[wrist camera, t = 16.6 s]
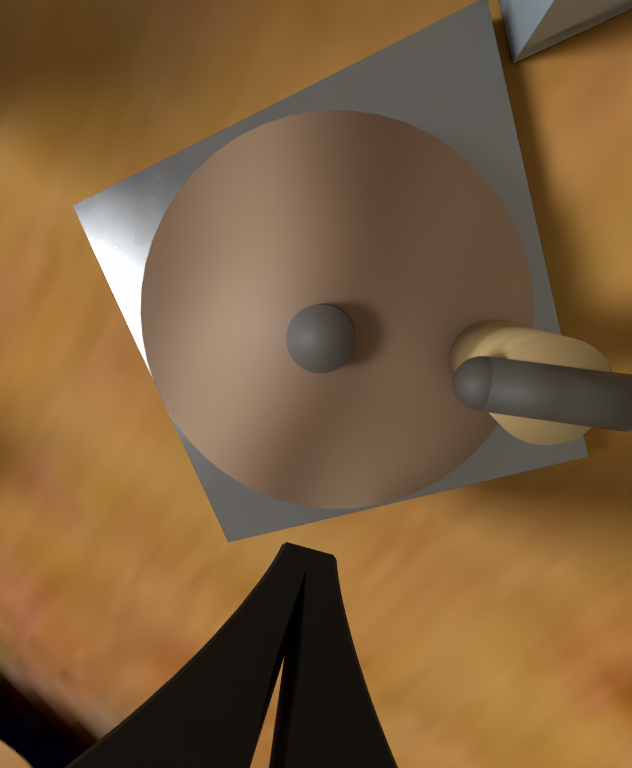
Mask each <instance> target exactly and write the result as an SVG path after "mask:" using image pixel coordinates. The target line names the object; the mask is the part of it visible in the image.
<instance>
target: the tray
mask: <svg viewBox="0 0 632 768" xmlns="http://www.w3.org/2000/svg"><path fill="white" fill-rule="evenodd" d="M499 2H500V7H501V11H502V16H503V21H504V25H505V30H506V35H507V39H508V44H509V49H510V53H511V58H512V62H513V63H515V62H518V61H520V60H522V59H524V58H526V57H528V56H531V55H533V54H535V53H537V52H539V51H541V50H544V49H546V48H548V47H550V46H552V45H554V44H557V43H559V42H561V41H563V40H565V39H567V38H570V37H572V36H574V35H576V34H578V33H580V32H583V31H585V30H587V29H589V28H591V27H593V26H596V25H598V24H600V23H602V22H604V21H606V20H609V19H611V18H613V17H615V16H617V15H619V14H622V13H624V12H626V11H628V10H630V9H632V0H499Z"/></svg>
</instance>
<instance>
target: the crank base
mask: <svg viewBox="0 0 632 768" xmlns="http://www.w3.org/2000/svg"><path fill="white" fill-rule="evenodd" d="M320 110H352V111H359V112H366V113H373V114H379V115H382V116H386V117H389V118H392V119H396V120H399V121H402V122H406V123H408V124H410V125H412V126H415V127H417V128H419V129H421V130H423V131H425V132H427V133H429V134H431V135H433V136H435V137H437V138H438V139H439V140H441V141H442V142H444V143H445V144H447V145H448V146H450V147H451V148H453V149H454V150H456V151H457V152H458V153H460V154H461V155H462V156H463V157H464V158H465V159H466V160H467V161H468V162H469V163H470V164H471V165H473V166H474V167H475V168H476V169H477V170H478V171H479V172H480V173H481V174H482V175H483V176H484V178H485V179H486V180H487V182H488V183H489V184H490V185H491V187H492V188H493V189H494V190H495V192H496V193H497V194H498V196H499V197H500V198H501V200H502V202H503V204H504V205H505V207H506V209H507V211H508V212H509V214H510V216H511V218H512V219H513V221H514V223H515V226H516V228H517V231H518V233H519V236H520V238H521V241H522V244H523V246H524V249H525V252H526V256H527V261H528V265H529V269H530V274H531V278H532V289H533V300H534V317H533V328H534V329H538V330H542V331H546V332H550V333H554V334H558V335H561V331H560V327H559V322H558V317H557V313H556V308H555V304H554V299H553V295H552V290H551V286H550V281H549V277H548V272H547V268H546V263H545V259H544V254H543V250H542V245H541V241H540V236H539V232H538V227H537V223H536V218H535V214H534V209H533V205H532V200H531V196H530V191H529V186H528V182H527V177H526V173H525V168H524V164H523V159H522V155H521V150H520V146H519V141H518V137H517V132H516V128H515V123H514V119H513V114H512V110H511V105H510V101H509V96H508V92H507V87H506V83H505V78H504V74H503V69H502V65H501V60H500V55H499V51H498V46H497V42H496V37H495V33H494V28H493V24H492V19H491V15H490V10H489V6H488V1H487V0H479V1H477V2H475V3H473V4H472V5H470V6H468V7H466V8H464V9H462V10H460V11H458V12H456V13H454V14H452V15H450V16H448V17H446V18H444V19H442V20H440V21H438V22H436V23H434V24H432V25H430V26H428V27H426V28H424V29H422V30H420V31H418V32H416V33H414V34H412V35H410V36H408V37H406V38H404V39H402V40H400V41H398V42H396V43H394V44H392V45H390V46H388V47H386V48H384V49H382V50H380V51H378V52H376V53H375V54H373V55H371V56H369V57H367V58H365V59H363V60H361V61H359V62H357V63H355V64H353V65H351V66H349V67H347V68H345V69H343V70H341V71H339V72H337V73H335V74H333V75H331V76H329V77H327V78H325V79H323V80H321V81H319V82H317V83H315V84H313V85H311V86H309V87H307V88H305V89H303V90H301V91H299V92H297V93H295V94H293V95H291V96H289V97H287V98H285V99H283V100H281V101H280V102H278V103H276V104H274V105H272V106H270V107H268V108H266V109H264V110H262V111H260V112H258V113H256V114H254V115H252V116H250V117H248V118H246V119H244V120H242V121H240V122H238V123H236V124H234V125H232V126H230V127H228V128H226V129H224V130H222V131H220V132H218V133H216V134H214V135H212V136H210V137H208V138H206V139H204V140H202V141H200V142H198V143H196V144H194V145H192V146H190V147H188V148H186V149H185V150H183V151H181V152H179V153H177V154H175V155H173V156H171V157H169V158H167V159H165V160H163V161H161V162H159V163H157V164H155V165H153V166H151V167H149V168H147V169H145V170H143V171H141V172H139V173H137V174H135V175H133V176H131V177H129V178H127V179H125V180H123V181H121V182H119V183H117V184H115V185H113V186H111V187H109V188H107V189H105V190H103V191H101V192H99V193H97V194H95V195H93V196H91V197H90V198H88V199H86V200H84V201H82V202H80V203H78V204H76V205H74V206H73V207H74V209H75V211H76V213H77V216H78V218H79V220H80V222H81V224H82V226H83V229H84V231H85V233H86V235H87V237H88V239H89V242H90V244H91V246H92V248H93V250H94V252H95V255H96V257H97V259H98V261H99V263H100V265H101V268H102V270H103V272H104V274H105V276H106V278H107V281H108V283H109V285H110V287H111V289H112V291H113V294H114V296H115V298H116V300H117V302H118V304H119V307H120V309H121V311H122V313H123V315H124V317H125V320H126V322H127V324H128V326H129V328H130V330H131V333H132V335H133V337H134V339H135V341H136V343H137V346H138V348H139V350H140V352H141V354H142V356H143V359H144V361H145V363H146V365H147V367H148V369H149V372H150V374H151V371H150V368H149V365H148V362H147V358H146V353H145V348H144V343H143V338H142V328H141V315H140V308H141V287H142V281H143V275H144V269H145V263H146V260H147V256H148V253H149V250H150V246H151V243H152V240H153V237H154V235H155V233H156V231H157V228H158V226H159V224H160V222H161V219H162V217H163V215H164V213H165V212H166V210H167V208H168V207H169V205H170V204H171V202H172V200H173V199H174V197H175V195H176V194H177V192H178V191H179V190H180V189H181V187H182V186H183V185H184V184H185V182H186V181H187V180H188V179H189V178H190V176H191V175H192V174H193V173H194V171H196V170H197V169H198V168H199V167H200V166H201V165H202V164H203V163H204V162H205V161H206V160H207V159H209V158H210V157H211V156H212V155H213V154H214V153H215V152H217V151H218V150H219V149H221V148H222V147H224V146H225V145H227V144H228V143H230V142H231V141H232V140H234V139H235V138H237V137H238V136H240V135H242V134H244V133H246V132H248V131H251V130H253V129H255V128H257V127H259V126H261V125H263V124H265V123H268V122H272V121H275V120H278V119H281V118H284V117H287V116H290V115H295V114H301V113H308V112H314V111H320ZM151 376H152V374H151ZM152 378H153V377H152ZM167 411H168V410H167ZM168 413H169V411H168ZM169 415H170V413H169ZM170 417H171V419H172V421H173V424H174V426H175V428H176V430H177V432H178V434H179V437H180V439H181V441H182V443H183V445H184V447H185V450H186V452H187V454H188V456H189V458H190V460H191V463H192V465H193V467H194V469H195V471H196V473H197V476H198V478H199V480H200V482H201V484H202V486H203V489H204V491H205V493H206V495H207V497H208V499H209V502H210V504H211V506H212V508H213V510H214V512H215V515H216V517H217V519H218V521H219V523H220V525H221V528H222V530H223V532H224V534H225V536H226V538H227V541H228V542H232V541H236V540H240V539H244V538H248V537H253V536H257V535H261V534H265V533H269V532H274V531H278V530H282V529H286V528H290V527H295V526H299V525H303V524H307V523H311V522H316V521H320V520H324V519H328V518H332V517H337V516H341V515H345V514H349V513H353V512H358V511H362V510H366V509H370V508H374V507H379V506H383V505H387V504H391V503H396V502H400V501H404V500H408V499H412V498H417V497H421V496H425V495H429V494H433V493H438V492H442V491H446V490H450V489H454V488H459V487H463V486H467V485H471V484H475V483H480V482H484V481H488V480H492V479H496V478H501V477H505V476H509V475H513V474H517V473H522V472H526V471H530V470H534V469H538V468H543V467H547V466H551V465H555V464H559V463H564V462H568V461H572V460H576V459H580V458H585V457H588V453H587V449H586V444H585V439H584V435H582V436H580V437H578V438H576V439H573V440H571V441H568V442H565V443H561V444H554V445H536V444H531V443H527V442H524V441H522V440H520V439H518V438H515V437H514V436H512V435H511V434H509V433H508V432H507V431H506V430H505V429H504V428H503V427H502V426H501V425H500V424H499V423H498V425H497V426H496V428H495V429H494V431H493V432H492V434H491V435H490V436H489V437H488V438H487V439H486V440H485V442H484V443H483V444H482V445H481V446H480V447H479V448H478V449H477V451H476V452H475V453H473V454H472V455H471V456H470V457H469V458H468V459H467V460H466V461H464V462H463V463H462V464H461V465H460V466H459V467H458V468H456V469H455V470H453V471H452V472H450V473H449V474H447V475H446V476H445V477H443V478H442V479H440V480H439V481H437V482H435V483H433V484H431V485H429V486H428V487H426V488H424V489H422V490H420V491H418V492H416V493H413V494H410V495H408V496H405V497H402V498H400V499H397V500H394V501H390V502H386V503H382V504H378V505H373V506H367V507H358V508H350V509H325V508H317V507H308V506H302V505H298V504H293V503H289V502H285V501H281V500H278V499H276V498H273V497H270V496H267V495H264V494H262V493H260V492H258V491H256V490H254V489H251V488H249V487H247V486H245V485H243V484H241V483H240V482H238V481H237V480H235V479H234V478H232V477H230V476H229V475H227V474H226V473H224V472H223V471H222V470H220V469H219V468H218V467H217V466H215V465H214V464H213V463H212V462H210V461H209V460H208V459H207V458H206V457H205V456H204V455H203V454H202V453H201V452H200V451H199V450H198V449H197V448H196V447H195V446H194V445H193V444H192V443H191V442H190V441H189V440H188V438H187V437H186V436H185V435H184V433H183V432H182V431H181V429H180V428H179V427H178V426H177V424H176V423H175V421H174V420H173V418H172V416H171V415H170Z"/></svg>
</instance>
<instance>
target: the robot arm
mask: <svg viewBox="0 0 632 768" xmlns="http://www.w3.org/2000/svg"><path fill="white" fill-rule="evenodd" d="M284 655H285V656H284ZM283 658H284V663H283V670H282V677H281V684H280V691H279V698H278V706H277V713H276V720H275V727H274V734H273V742H272V749H271V756H270V763H269V768H398V767H397V764H396V762H395V759H394V757H393V755H392V752H391V750H390V747H389V745H388V743H387V740H386V737H385V735H384V732H383V730H382V727H381V724H380V722H379V719H378V717H377V714H376V711H375V709H374V706H373V703H372V700H371V697H370V694H369V692H368V689H367V686H366V683H365V680H364V676H363V673H362V670H361V667H360V664H359V661H358V658H357V654H356V651H355V647H354V644H353V640H352V636H351V633H350V629H349V625H348V621H347V617H346V613H345V609H344V605H343V600H342V595H341V590H340V584H339V578H338V571H337V560H336V558H335V557H334V555H332V554H328V553H324V552H321V551H317V550H313V549H310V548H306V547H302V546H299V545H295V544H291V543H288V542H287V543H285V544H283V545H282V546H281V548H280V550H279V552H278V554H277V555H276V557H275V559H274V561H273V562H272V564H271V565H270V567H269V568H268V570H267V571H266V573H265V574H264V575H263V577H262V578H261V580H260V581H259V582H258V584H257V585H256V586H255V588H254V589H253V590H252V591H251V593H250V594H249V595H248V596H247V598H246V599H245V600H244V602H243V603H242V604H241V605H240V607H239V608H238V609H237V610H236V611H235V612H234V613H233V615H232V616H231V617H230V618H229V619H228V620H227V621H226V622H225V624H224V625H223V626H222V627H221V628H220V629H219V630H218V632H217V633H216V634H215V635H214V636H213V637H212V638H211V639H210V640H209V641H208V642H207V643H206V644H205V645H204V646H203V648H202V649H201V650H200V651H199V652H198V653H197V654H196V655H195V656H194V657H193V658H192V659H191V660H190V661H189V662H188V663H187V664H186V665H184V666H183V667H182V668H181V669H180V670H179V671H178V672H177V673H176V674H175V675H174V676H173V677H172V678H171V679H170V680H169V681H168V682H166V683H165V684H164V685H163V686H162V687H161V688H160V689H159V690H158V691H157V692H155V693H154V694H153V695H152V696H151V697H150V698H149V699H148V700H147V701H146V702H144V703H143V704H142V705H141V706H140V707H139V708H138V709H136V710H135V711H134V712H133V713H132V714H131V715H129V716H128V717H127V718H126V719H125V720H123V721H122V722H121V723H120V724H119V725H118V726H116V727H115V728H114V729H112V730H111V731H110V732H109V733H107V734H106V735H105V736H104V737H102V738H101V739H100V740H99V741H97V742H96V743H95V744H94V745H92V746H91V747H90V748H89V749H87V750H86V751H85V752H84V753H82V754H81V755H80V756H79V757H77V758H76V759H75V760H74V761H72V762H71V763H70V764H69V765H67V766H66V767H65V768H250V765H251V762H252V759H253V756H254V752H255V749H256V746H257V743H258V739H259V736H260V733H261V730H262V726H263V723H264V720H265V717H266V713H267V710H268V707H269V704H270V701H271V697H272V694H273V691H274V688H275V684H276V681H277V678H278V675H279V671H280V668H281V665H282V662H283Z"/></svg>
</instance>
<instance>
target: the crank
mask: <svg viewBox="0 0 632 768" xmlns="http://www.w3.org/2000/svg"><path fill="white" fill-rule="evenodd" d="M140 315H141V328H142V338H143V343H144V348H145V353H146V358H147V362H148V365H149V368H150V371H151V374H152V377H153V381H154V383H155V386H156V388H157V390H158V392H159V394H160V396H161V399H162V401H163V403H164V405H165V406H166V408H167V410H168V411H169V413H170V415H171V416H172V418H173V420H174V421H175V423H176V424H177V426H178V427H179V428H180V429H181V431H182V432H183V433H184V435H185V436H186V437H187V438H188V440H189V441H190V442H191V443H192V444H193V445H194V446H195V447H196V448H197V449H198V450H199V451H200V452H201V453H202V454H203V455H204V456H205V457H206V458H207V459H208V460H209V461H210V462H212V463H213V464H214V465H215V466H217V467H218V468H219V469H220V470H222V471H223V472H224V473H226V474H227V475H229V476H230V477H232V478H234V479H235V480H237V481H238V482H240V483H241V484H243V485H245V486H247V487H249V488H251V489H254V490H256V491H258V492H260V493H262V494H264V495H267V496H270V497H273V498H276V499H278V500H281V501H285V502H289V503H293V504H298V505H302V506H308V507H317V508H325V509H350V508H358V507H367V506H373V505H378V504H382V503H386V502H390V501H394V500H397V499H400V498H402V497H405V496H408V495H410V494H413V493H416V492H418V491H420V490H422V489H424V488H426V487H428V486H429V485H431V484H433V483H435V482H437V481H439V480H440V479H442V478H443V477H445V476H446V475H447V474H449V473H450V472H452V471H453V470H455V469H456V468H458V467H459V466H460V465H461V464H462V463H463V462H464V461H466V460H467V459H468V458H469V457H470V456H471V455H472V454H473V453H475V452H476V451H477V449H478V448H479V447H480V446H481V445H482V444H483V443H484V442H485V440H486V439H487V438H488V437H489V436H490V435H491V434H492V432H493V431H494V429H495V428H496V426H497V425H498V423H499V424H500V425H501V426H502V427H503V428H504V429H505V430H506V431H507V432H508V433H509V434H511V435H512V436H514V437H515V438H518V439H520V440H522V441H524V442H527V443H531V444H536V445H554V444H561V443H565V442H568V441H571V440H573V439H576V438H578V437H580V436H582V435H583V434H585V433H586V432H588V431H589V430H590V429H591V428H593V427H594V428H601V429H608V430H615V431H625V432H629V431H632V375H630V374H623V373H615V372H612V371H611V368H610V365H609V364H608V362H607V360H606V359H605V357H604V356H603V355H602V354H601V353H600V352H599V351H598V350H597V349H596V348H594V347H593V346H591V345H590V344H588V343H586V342H584V341H581V340H578V339H575V338H571V337H567V336H563V335H558V334H554V333H550V332H546V331H542V330H538V329H534V328H533V317H534V300H533V289H532V278H531V274H530V269H529V265H528V261H527V256H526V252H525V249H524V246H523V244H522V241H521V238H520V236H519V233H518V231H517V228H516V226H515V223H514V221H513V219H512V218H511V216H510V214H509V212H508V211H507V209H506V207H505V205H504V204H503V202H502V200H501V198H500V197H499V196H498V194H497V193H496V192H495V190H494V189H493V188H492V187H491V185H490V184H489V183H488V182H487V180H486V179H485V178H484V176H483V175H482V174H481V173H480V172H479V171H478V170H477V169H476V168H475V167H474V166H473V165H471V164H470V163H469V162H468V161H467V160H466V159H465V158H464V157H463V156H462V155H461V154H460V153H458V152H457V151H456V150H454V149H453V148H451V147H450V146H448V145H447V144H445V143H444V142H442V141H441V140H439V139H438V138H437V137H435V136H433V135H431V134H429V133H427V132H425V131H423V130H421V129H419V128H417V127H415V126H412V125H410V124H408V123H406V122H402V121H399V120H396V119H392V118H389V117H386V116H382V115H379V114H373V113H366V112H359V111H352V110H320V111H314V112H308V113H301V114H295V115H290V116H287V117H284V118H281V119H278V120H275V121H272V122H268V123H265V124H263V125H261V126H259V127H257V128H255V129H253V130H251V131H248V132H246V133H244V134H242V135H240V136H238V137H237V138H235V139H234V140H232V141H231V142H230V143H228V144H227V145H225V146H224V147H222V148H221V149H219V150H218V151H217V152H215V153H214V154H213V155H212V156H211V157H210V158H209V159H207V160H206V161H205V162H204V163H203V164H202V165H201V166H200V167H199V168H198V169H197V170H196V171H194V173H193V174H192V175H191V176H190V178H189V179H188V180H187V181H186V182H185V184H184V185H183V186H182V187H181V189H180V190H179V191H178V192H177V194H176V195H175V197H174V199H173V200H172V202H171V204H170V205H169V207H168V208H167V210H166V212H165V213H164V215H163V217H162V219H161V222H160V224H159V226H158V228H157V231H156V233H155V235H154V237H153V240H152V243H151V246H150V250H149V253H148V256H147V260H146V263H145V269H144V275H143V281H142V287H141V308H140Z"/></svg>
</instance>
